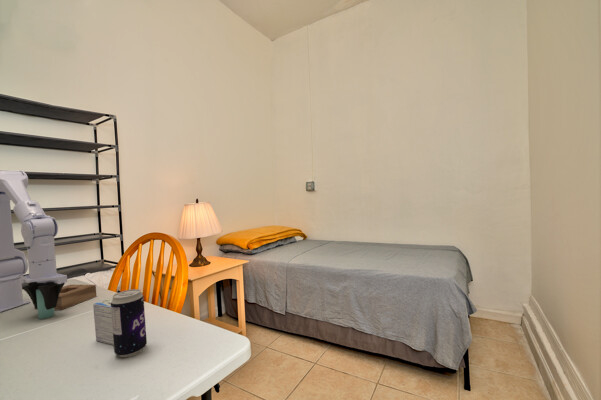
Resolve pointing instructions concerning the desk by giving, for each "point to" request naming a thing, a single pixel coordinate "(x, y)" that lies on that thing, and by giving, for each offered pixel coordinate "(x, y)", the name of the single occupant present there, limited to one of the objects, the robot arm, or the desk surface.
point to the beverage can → (128, 322)
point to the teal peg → (43, 307)
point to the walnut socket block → (74, 295)
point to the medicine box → (103, 321)
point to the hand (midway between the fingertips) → (45, 308)
